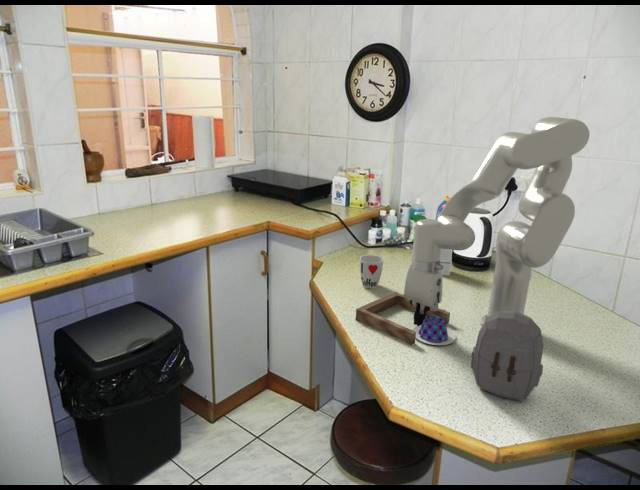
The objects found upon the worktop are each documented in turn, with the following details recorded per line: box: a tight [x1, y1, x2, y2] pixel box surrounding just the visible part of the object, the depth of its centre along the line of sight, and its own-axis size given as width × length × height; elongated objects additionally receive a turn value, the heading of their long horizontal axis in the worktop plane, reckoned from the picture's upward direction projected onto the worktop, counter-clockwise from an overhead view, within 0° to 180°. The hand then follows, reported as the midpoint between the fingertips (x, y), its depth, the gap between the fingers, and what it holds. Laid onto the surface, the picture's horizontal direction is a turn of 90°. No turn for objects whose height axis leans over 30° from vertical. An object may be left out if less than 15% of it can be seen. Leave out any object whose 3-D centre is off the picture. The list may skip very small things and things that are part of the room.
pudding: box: [412, 316, 457, 346], centre depth 130 cm, size 12×12×5 cm
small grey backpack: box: [470, 311, 545, 401], centre depth 103 cm, size 15×8×20 cm, turn 59°
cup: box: [359, 254, 384, 289], centre depth 162 cm, size 8×8×10 cm
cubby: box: [355, 291, 451, 346], centre depth 138 cm, size 20×19×4 cm
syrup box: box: [440, 248, 454, 276], centre depth 176 cm, size 6×6×14 cm
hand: (418, 323), depth 134 cm, fingers closed
